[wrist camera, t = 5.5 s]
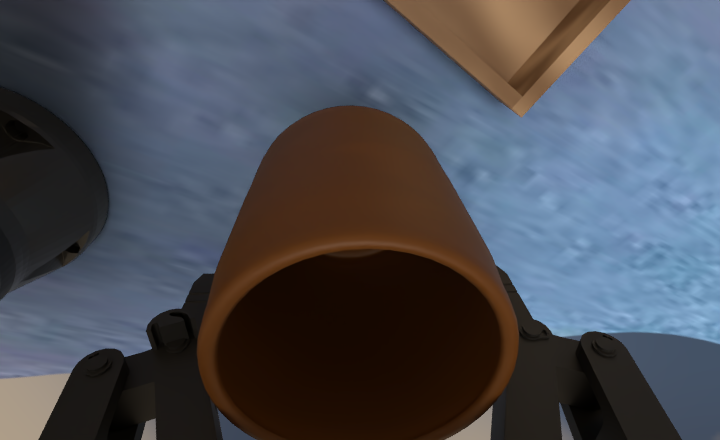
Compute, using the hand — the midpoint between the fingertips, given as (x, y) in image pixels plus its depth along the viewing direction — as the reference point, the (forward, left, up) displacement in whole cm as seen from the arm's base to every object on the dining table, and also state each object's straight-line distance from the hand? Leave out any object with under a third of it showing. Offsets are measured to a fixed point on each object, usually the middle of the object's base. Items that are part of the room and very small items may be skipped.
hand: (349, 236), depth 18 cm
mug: (-1, 0, 0) cm, 1 cm away
